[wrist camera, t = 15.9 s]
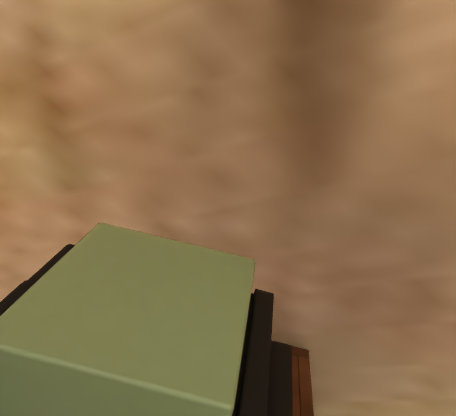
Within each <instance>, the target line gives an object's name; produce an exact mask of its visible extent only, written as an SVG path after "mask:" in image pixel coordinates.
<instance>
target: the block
mask: <svg viewBox="0 0 456 416" xmlns="http://www.w3.org/2000/svg"><path fill="white" fill-rule="evenodd" d="M254 270H255V260H254V259H252V258H248V257H243V256H239V255H235V254H231V253H227V252H222V251H218V250H214V249H210V248H206V247H201V246H197V245H193V244H189V243H185V242H180V241H176V240H172V239H168V238H164V237H159V236H155V235H151V234H147V233H143V232H138V231H134V230H130V229H126V228H121V227H117V226H113V225H109V224H105V223H98V224H97V225H96V226H95V227H94V228H93V229H92V230H91V231H90V232H89V233H88V234H87V235H86V236H85V237H84V238H82V239H81V240H80V241H79V242H78V243H77V244H76V245H75V246H74V247H73V248H72V249H71V250H70V251H69V252H68V253H67V254H66V255H64V256H63V257H62V258H61V259H60V260H59V261H58V262H57V263H56V264H55V265H54V266H53V267H52V268H51V269H50V270H49V271H48V272H46V273H45V274H44V275H43V276H42V277H41V278H40V279H39V280H38V281H37V282H36V283H35V284H34V285H33V286H32V287H31V288H30V289H29V290H27V291H26V292H25V293H24V294H23V295H22V296H21V297H20V298H19V299H18V300H17V301H16V302H15V303H14V304H13V305H12V306H11V307H9V308H8V309H7V310H6V311H5V312H4V313H3V314H2V315H1V316H0V416H232V413H233V410H234V405H235V398H236V391H237V385H238V378H239V371H240V364H241V358H242V351H243V344H244V337H245V330H246V324H247V317H248V310H249V303H250V297H251V290H252V283H253V276H254Z"/></svg>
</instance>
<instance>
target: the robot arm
mask: <svg viewBox="0 0 456 416" xmlns="http://www.w3.org/2000/svg"><path fill="white" fill-rule="evenodd" d="M74 246H75V245H72V244H68V245H66V246H65V247H64V248H63V249H62V250H61V251H60V252H58V253H57V254H56V255H55V256H54V257H53V258H52V259H51V260H50V261H49V262H47V263H46V264H45V265H44V266H43V267H42V268H41V269H40V270H39V271H38V272H36V273H35V274H34V275H33V276H32V277H31V278H30V279H29V280H27V281H24V282H23V283H21V284H20V285H19V286H18V287H17V288H16V289H14V290H13V291H12V292H11V293H10V294H9V295H8V296H7V297H5V298H4V299H3V300H2V301H1V302H0V316H1V315H2V314H3V313H4V312H5V311H6V310H7V309H8V308H9V307H11V306H12V305H13V304H14V303H15V302H16V301H17V300H18V299H19V298H20V297H21V296H22V295H23V294H24V293H25V292H26V291H27V290H29V289H30V288H31V287H32V286H33V285H34V284H35V283H36V282H37V281H38V280H39V279H40V278H41V277H42V276H43V275H44V274H45V273H46V272H48V271H49V270H50V269H51V268H52V267H53V266H54V265H55V264H56V263H57V262H58V261H59V260H60V259H61V258H62V257H63V256H64V255H66V254H67V253H68V252H69V251H70V250H71V249H72V248H73V247H74ZM273 299H274V294H273V293H270V292H266V291H262V290H258V289H255V292H254V294H253V293H251V297H250V303H249V310H248V317H247V324H246V330H245V337H244V344H243V351H242V358H241V364H240V371H239V378H238V385H237V391H236V398H235V405H234V410H233V413H232V416H293V392H292V348H291V345H287V344H283V343H279V342H275V341H271V334H272V317H273Z"/></svg>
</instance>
